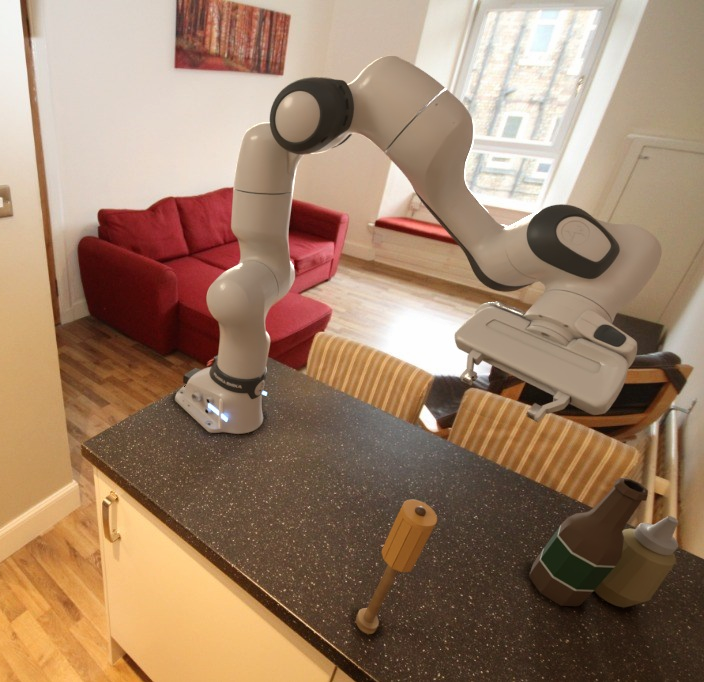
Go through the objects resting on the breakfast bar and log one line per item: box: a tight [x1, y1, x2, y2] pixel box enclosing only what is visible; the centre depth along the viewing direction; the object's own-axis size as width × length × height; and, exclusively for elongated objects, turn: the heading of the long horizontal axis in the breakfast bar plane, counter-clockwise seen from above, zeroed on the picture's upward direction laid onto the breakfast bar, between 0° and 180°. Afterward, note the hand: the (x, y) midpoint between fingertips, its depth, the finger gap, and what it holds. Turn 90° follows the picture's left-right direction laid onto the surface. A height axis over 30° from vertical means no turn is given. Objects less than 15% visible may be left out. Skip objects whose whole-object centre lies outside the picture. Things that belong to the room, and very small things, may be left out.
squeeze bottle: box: [593, 515, 679, 608], centre depth 71 cm, size 8×8×18 cm
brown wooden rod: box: [355, 564, 399, 635], centre depth 61 cm, size 3×3×24 cm
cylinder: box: [381, 499, 438, 573], centre depth 57 cm, size 4×4×10 cm
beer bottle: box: [528, 477, 649, 607], centre depth 69 cm, size 8×8×24 cm
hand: (496, 398), depth 64 cm, fingers open, 8 cm apart
